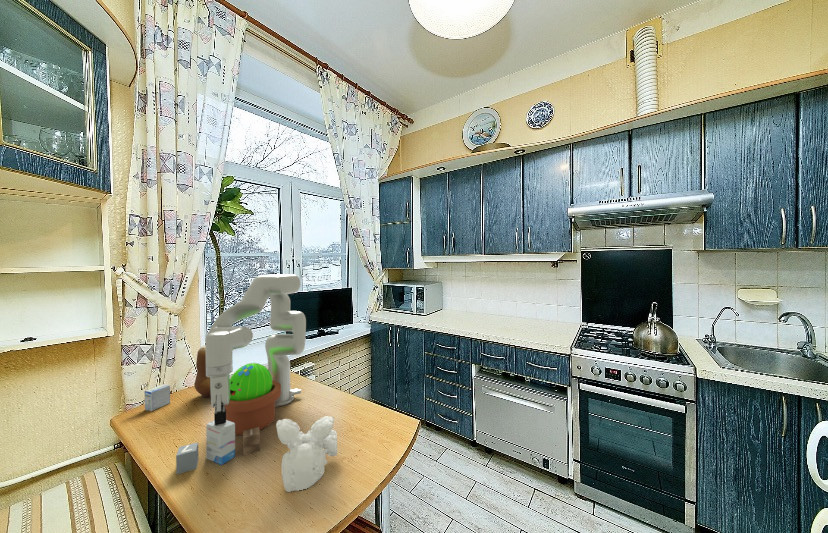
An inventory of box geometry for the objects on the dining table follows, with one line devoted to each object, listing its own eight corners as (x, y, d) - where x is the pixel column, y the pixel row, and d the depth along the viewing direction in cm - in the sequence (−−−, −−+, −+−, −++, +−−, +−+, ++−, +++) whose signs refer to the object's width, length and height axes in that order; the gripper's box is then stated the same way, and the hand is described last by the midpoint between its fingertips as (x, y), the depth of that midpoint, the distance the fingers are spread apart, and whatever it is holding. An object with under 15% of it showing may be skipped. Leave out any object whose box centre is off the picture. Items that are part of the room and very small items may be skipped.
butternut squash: (232, 393, 147) (231, 344, 146) (201, 404, 136) (200, 351, 135) (219, 387, 154) (218, 340, 154) (188, 397, 143) (187, 346, 142)
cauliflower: (268, 479, 77) (277, 408, 93) (271, 511, 87) (279, 442, 103) (342, 466, 83) (339, 402, 99) (336, 497, 93) (334, 434, 109)
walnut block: (259, 443, 107) (259, 426, 107) (259, 450, 103) (259, 433, 103) (243, 447, 105) (243, 430, 105) (243, 455, 100) (243, 437, 100)
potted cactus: (255, 405, 135) (254, 351, 134) (292, 415, 126) (291, 357, 126) (205, 431, 114) (204, 368, 114) (245, 445, 106) (244, 376, 105)
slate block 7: (198, 459, 98) (198, 441, 98) (196, 468, 94) (195, 450, 94) (179, 465, 96) (179, 446, 96) (176, 474, 91) (176, 455, 91)
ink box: (236, 456, 100) (236, 422, 100) (221, 465, 95) (220, 429, 95) (220, 449, 103) (220, 416, 103) (205, 458, 99) (204, 423, 99)
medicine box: (163, 402, 139) (163, 383, 138) (170, 403, 137) (170, 384, 137) (144, 410, 131) (143, 391, 131) (151, 411, 130) (151, 392, 130)
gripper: (231, 374, 94) (232, 430, 94) (233, 360, 107) (234, 410, 107) (202, 379, 90) (204, 437, 91) (208, 364, 103) (209, 415, 104)
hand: (220, 422), depth 99 cm, fingers closed
